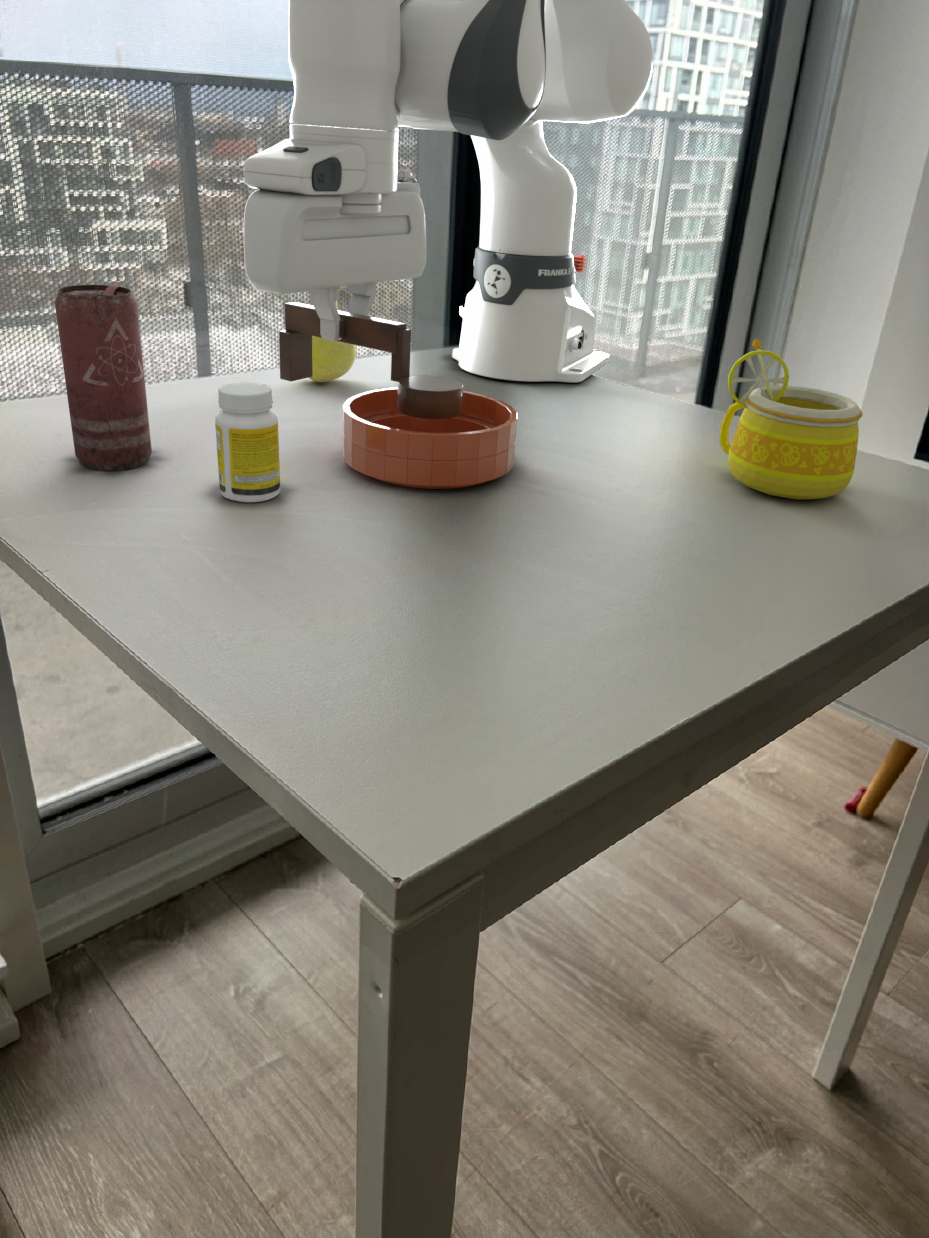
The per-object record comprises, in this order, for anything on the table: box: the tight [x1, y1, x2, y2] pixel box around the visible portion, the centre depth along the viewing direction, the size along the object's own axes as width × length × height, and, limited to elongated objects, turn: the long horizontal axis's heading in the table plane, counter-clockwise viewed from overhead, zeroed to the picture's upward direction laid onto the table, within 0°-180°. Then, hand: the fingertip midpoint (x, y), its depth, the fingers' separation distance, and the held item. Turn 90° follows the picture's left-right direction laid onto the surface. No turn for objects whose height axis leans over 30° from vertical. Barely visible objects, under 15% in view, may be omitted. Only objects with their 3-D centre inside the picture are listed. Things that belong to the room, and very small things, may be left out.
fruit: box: [309, 287, 357, 383], centre depth 106 cm, size 7×8×12 cm
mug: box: [718, 338, 863, 501], centre depth 83 cm, size 13×11×12 cm
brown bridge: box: [278, 301, 464, 419], centre depth 84 cm, size 19×6×7 cm, turn 56°
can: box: [54, 284, 153, 472], centre depth 77 cm, size 6×6×14 cm
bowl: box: [341, 387, 518, 490], centre depth 83 cm, size 15×15×5 cm
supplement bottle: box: [214, 382, 281, 503], centre depth 73 cm, size 5×5×8 cm
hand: (343, 337), depth 84 cm, fingers closed on brown bridge
